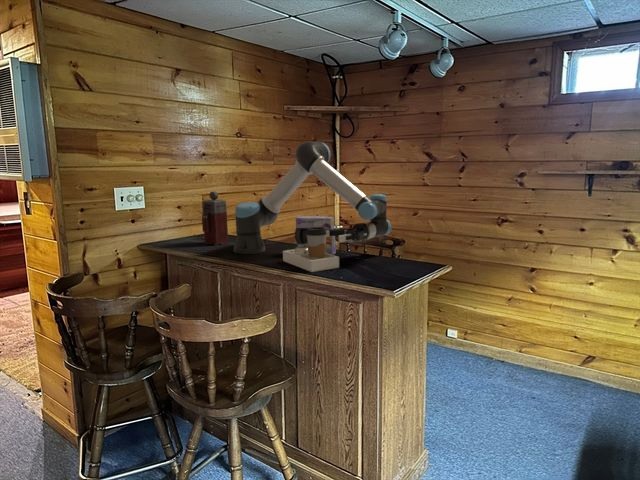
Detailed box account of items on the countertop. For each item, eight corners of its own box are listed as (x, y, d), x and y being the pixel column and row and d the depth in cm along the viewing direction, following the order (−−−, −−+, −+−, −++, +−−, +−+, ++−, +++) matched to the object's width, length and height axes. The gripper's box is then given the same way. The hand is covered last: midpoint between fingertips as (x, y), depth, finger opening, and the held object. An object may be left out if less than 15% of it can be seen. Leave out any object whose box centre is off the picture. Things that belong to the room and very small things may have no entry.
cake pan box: (294, 253, 226) (293, 216, 223) (299, 251, 231) (298, 215, 228) (332, 256, 218) (331, 217, 215) (336, 254, 223) (335, 216, 220)
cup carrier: (283, 260, 211) (282, 250, 210) (308, 257, 217) (308, 247, 217) (311, 272, 190) (311, 260, 189) (339, 267, 196) (339, 256, 195)
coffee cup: (318, 261, 204) (317, 226, 201) (331, 264, 198) (330, 228, 195) (303, 264, 199) (301, 228, 196) (315, 267, 193) (314, 230, 190)
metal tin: (292, 259, 210) (292, 247, 209) (306, 257, 213) (305, 246, 212) (300, 261, 204) (299, 250, 203) (314, 259, 207) (313, 248, 206)
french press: (201, 245, 253) (197, 192, 248) (216, 241, 263) (213, 190, 258) (214, 246, 249) (210, 192, 244) (228, 242, 258) (225, 190, 253)
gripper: (384, 242, 205) (349, 249, 191) (344, 236, 224) (309, 242, 210) (384, 225, 204) (348, 231, 190) (344, 220, 222) (308, 225, 209)
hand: (328, 237), depth 200 cm, fingers open, 13 cm apart
